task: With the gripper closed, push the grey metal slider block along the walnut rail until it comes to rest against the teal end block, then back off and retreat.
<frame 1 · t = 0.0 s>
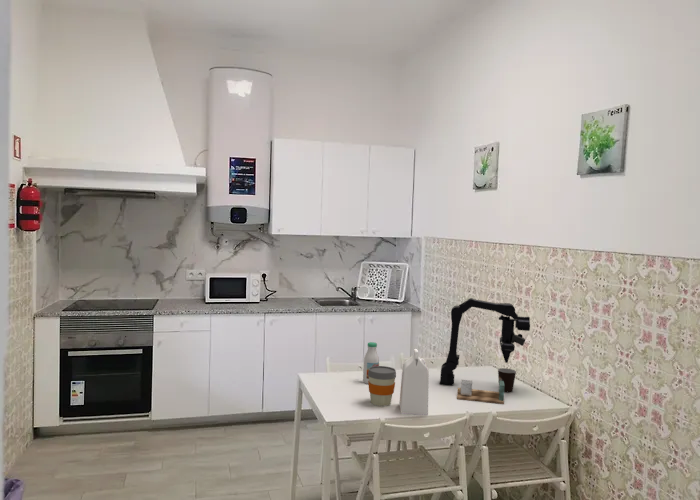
hand: (505, 360, 279), 15 cm above the table, tool pointing down, fingers open, 9 cm apart
metal slider block: (466, 387, 266), point 4 cm above the table, slide at 0.0 cm
milk bottle: (370, 382, 283), on the table
milk: (413, 409, 245), on the table
rail board: (480, 397, 265), on the table
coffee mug: (505, 390, 280), on the table
reusable coffee cup: (380, 403, 252), on the table
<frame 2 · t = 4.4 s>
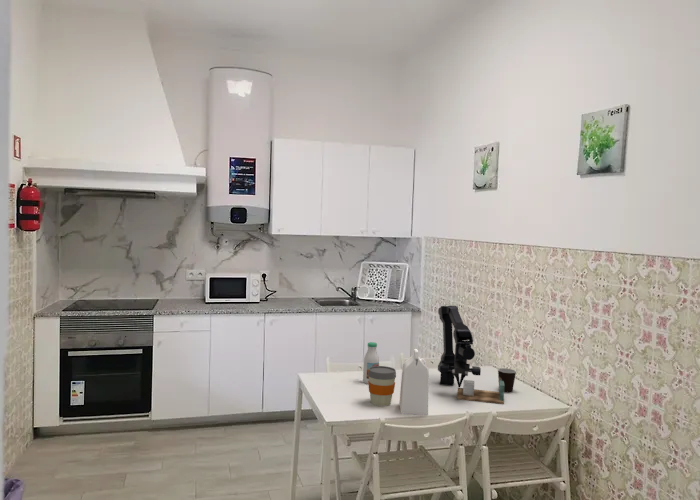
hand: (459, 387, 267), 4 cm above the table, tool pointing down, fingers closed
metal slider block: (468, 387, 266), point 4 cm above the table, slide at 1.0 cm, touching gripper
everything else where it was.
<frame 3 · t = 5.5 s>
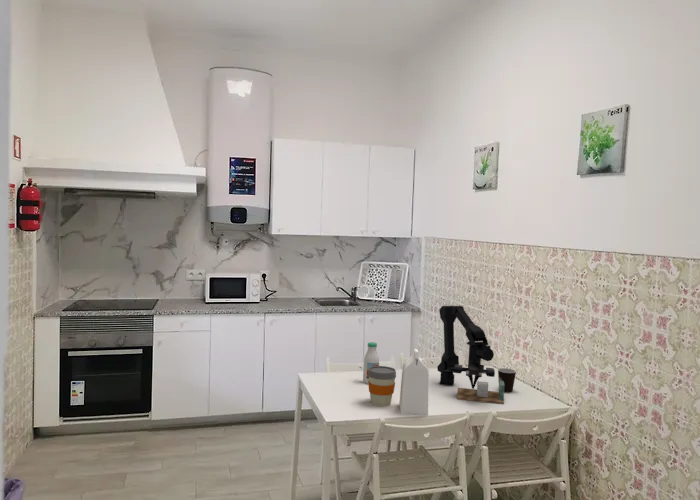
hand: (473, 388, 266), 4 cm above the table, tool pointing down, fingers closed
metal slider block: (482, 389, 265), point 4 cm above the table, slide at 7.4 cm, touching gripper
everything else where it was.
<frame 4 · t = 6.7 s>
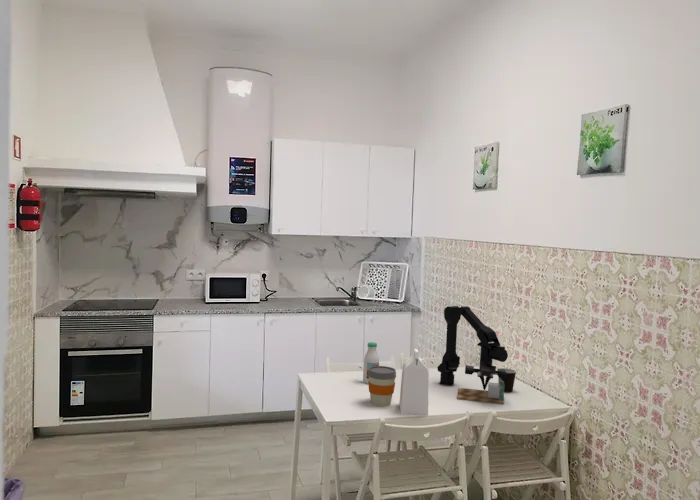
hand: (484, 389, 265), 4 cm above the table, tool pointing down, fingers closed
metal slider block: (493, 390, 264), point 4 cm above the table, slide at 12.5 cm, touching gripper, rail board
everything else where it was.
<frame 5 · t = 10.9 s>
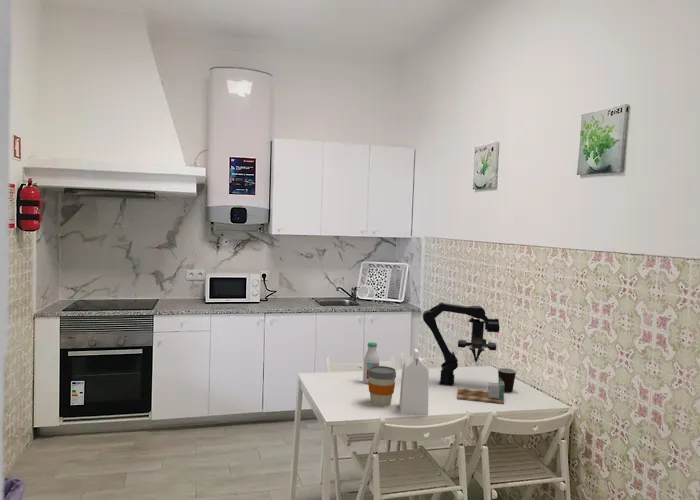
hand: (475, 361, 285), 12 cm above the table, tool pointing down, fingers closed
metal slider block: (493, 390, 264), point 4 cm above the table, slide at 12.5 cm, touching rail board
everything else where it was.
at the end: metal slider block slide at 12.5 cm; the gripper is holding nothing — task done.
